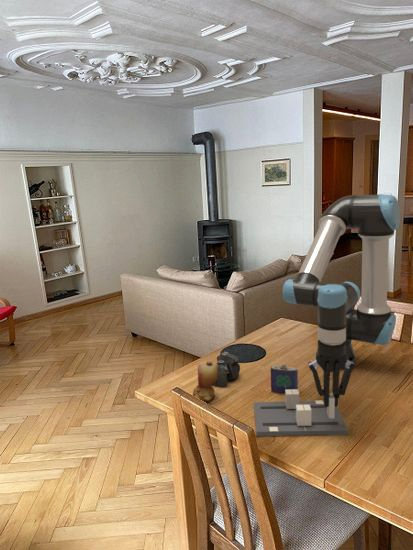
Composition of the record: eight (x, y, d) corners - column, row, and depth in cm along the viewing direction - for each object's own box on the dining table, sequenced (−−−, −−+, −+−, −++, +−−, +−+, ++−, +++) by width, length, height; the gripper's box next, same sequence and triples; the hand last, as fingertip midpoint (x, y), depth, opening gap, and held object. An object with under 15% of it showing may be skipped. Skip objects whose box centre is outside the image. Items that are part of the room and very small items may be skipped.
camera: (236, 388, 146) (235, 362, 144) (209, 387, 149) (208, 361, 146) (242, 371, 159) (241, 347, 157) (217, 370, 161) (215, 346, 159)
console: (334, 404, 133) (334, 400, 132) (348, 434, 117) (348, 429, 117) (253, 406, 134) (253, 401, 134) (256, 436, 119) (256, 431, 118)
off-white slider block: (297, 403, 131) (297, 389, 130) (299, 408, 128) (299, 393, 127) (285, 403, 131) (285, 389, 130) (286, 408, 128) (286, 394, 127)
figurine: (190, 391, 146) (198, 353, 143) (211, 394, 147) (219, 356, 144) (192, 406, 136) (200, 365, 133) (214, 409, 137) (222, 368, 134)
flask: (298, 390, 142) (297, 362, 140) (297, 395, 140) (297, 366, 137) (271, 388, 145) (270, 360, 142) (270, 392, 142) (269, 364, 140)
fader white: (309, 419, 122) (309, 404, 121) (311, 425, 119) (311, 409, 118) (295, 419, 122) (295, 404, 121) (297, 425, 119) (297, 410, 118)
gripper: (351, 334, 118) (349, 408, 123) (305, 335, 118) (305, 409, 124) (359, 344, 110) (357, 422, 116) (310, 346, 111) (310, 423, 117)
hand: (330, 415), depth 120 cm, fingers closed
